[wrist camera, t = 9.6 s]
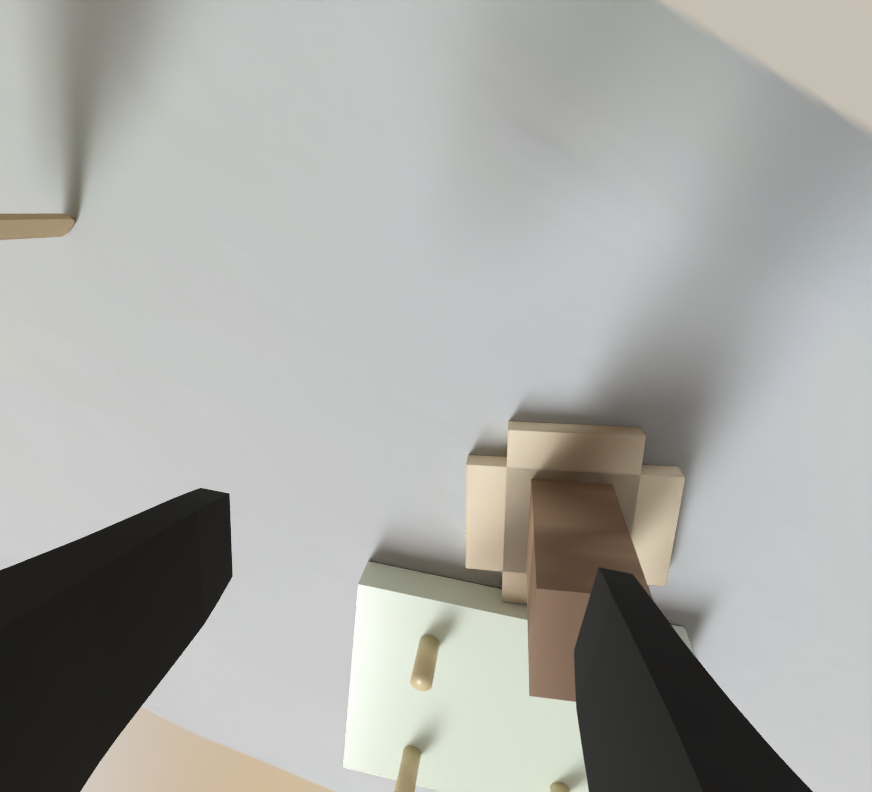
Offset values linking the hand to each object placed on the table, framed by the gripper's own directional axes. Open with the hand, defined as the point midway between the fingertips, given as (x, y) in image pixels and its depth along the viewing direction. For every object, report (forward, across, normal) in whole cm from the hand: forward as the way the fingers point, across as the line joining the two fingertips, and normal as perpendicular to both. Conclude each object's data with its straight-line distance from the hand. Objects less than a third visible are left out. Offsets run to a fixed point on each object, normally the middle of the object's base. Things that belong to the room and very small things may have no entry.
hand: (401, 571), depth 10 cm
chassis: (+10, -4, +15) cm, 19 cm away
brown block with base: (+11, -5, +5) cm, 13 cm away
